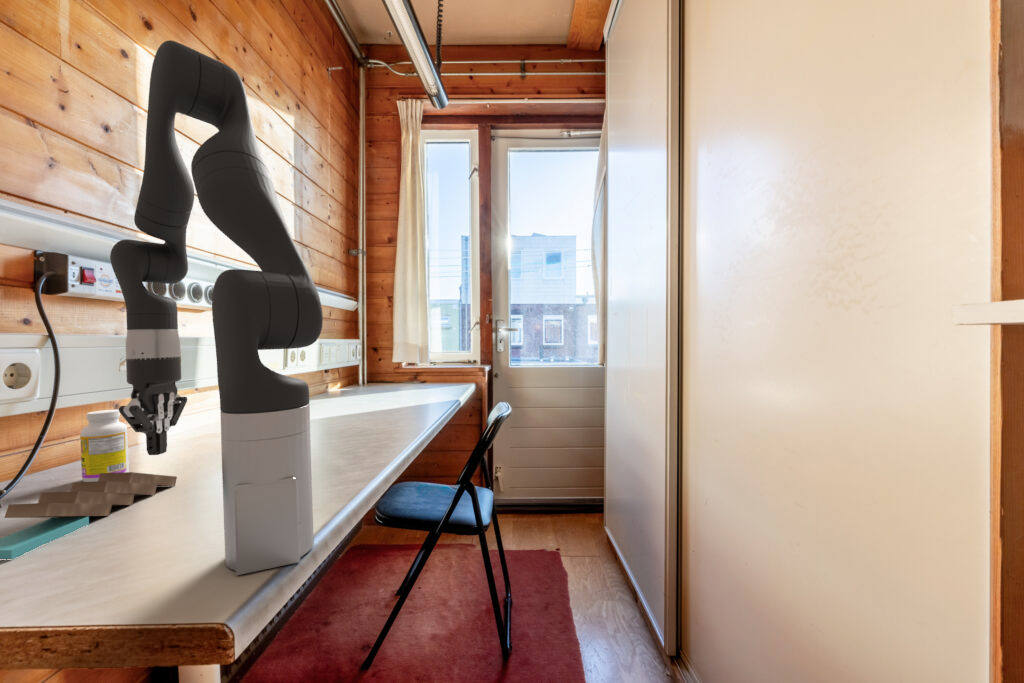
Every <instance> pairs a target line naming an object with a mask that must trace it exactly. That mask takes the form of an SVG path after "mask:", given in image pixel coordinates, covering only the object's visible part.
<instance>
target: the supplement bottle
mask: <svg viewBox="0 0 1024 683" xmlns="http://www.w3.org/2000/svg"><path fill="white" fill-rule="evenodd" d="M120 416H121V413H120V412H119V409H105V410H96V411H90V412H86V420H87V422H88V425H87V426H85V427H83V428H82V429H81V430H80V433H79V434H80V457H81V458H80V459H81V460H80V461H81V479H82V482H97V481H98V480H99V476H100V473H125V472H130V468H129V467H130V466H129V465H130V464H129V443H128V439H129V438H128V426H127V424H125V423H124V422H121V421H120Z"/></svg>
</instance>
